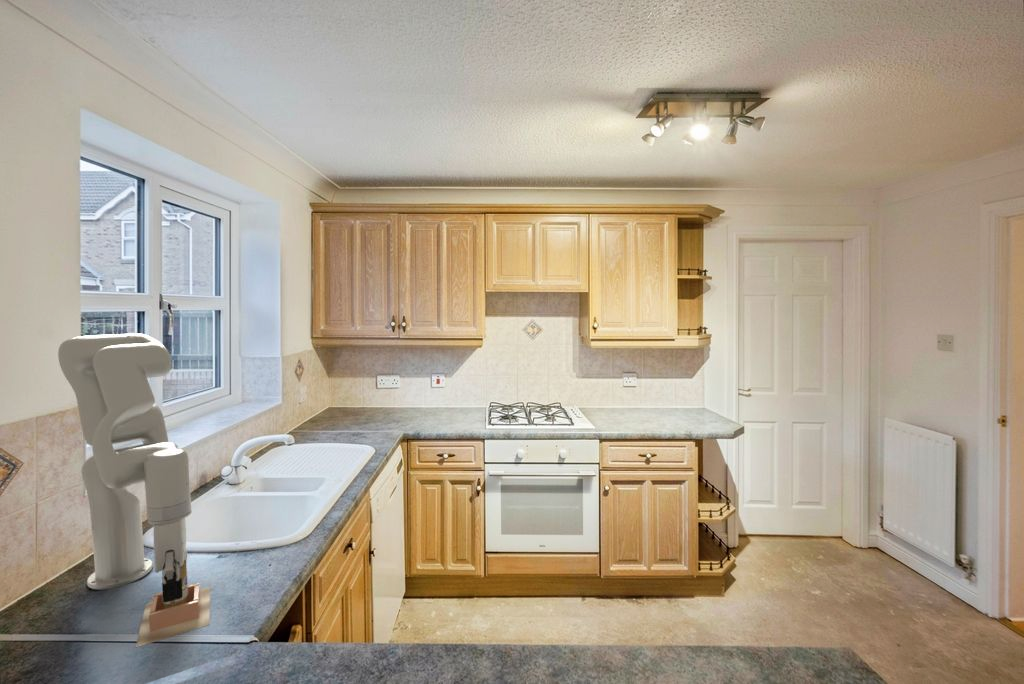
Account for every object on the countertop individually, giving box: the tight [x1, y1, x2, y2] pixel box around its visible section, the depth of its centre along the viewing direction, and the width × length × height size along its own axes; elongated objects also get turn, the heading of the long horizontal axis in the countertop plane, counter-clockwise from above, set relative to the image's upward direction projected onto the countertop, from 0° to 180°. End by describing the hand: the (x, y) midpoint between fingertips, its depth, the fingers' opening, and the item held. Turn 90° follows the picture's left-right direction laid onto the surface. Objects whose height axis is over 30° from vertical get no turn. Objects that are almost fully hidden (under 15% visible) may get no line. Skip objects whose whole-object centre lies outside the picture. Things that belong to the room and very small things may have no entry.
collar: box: [149, 582, 201, 632], centre depth 101 cm, size 8×8×4 cm
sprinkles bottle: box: [161, 548, 188, 609], centre depth 101 cm, size 5×5×14 cm
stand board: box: [135, 586, 211, 648], centre depth 101 cm, size 16×12×1 cm
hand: (174, 587), depth 101 cm, fingers open, 9 cm apart
